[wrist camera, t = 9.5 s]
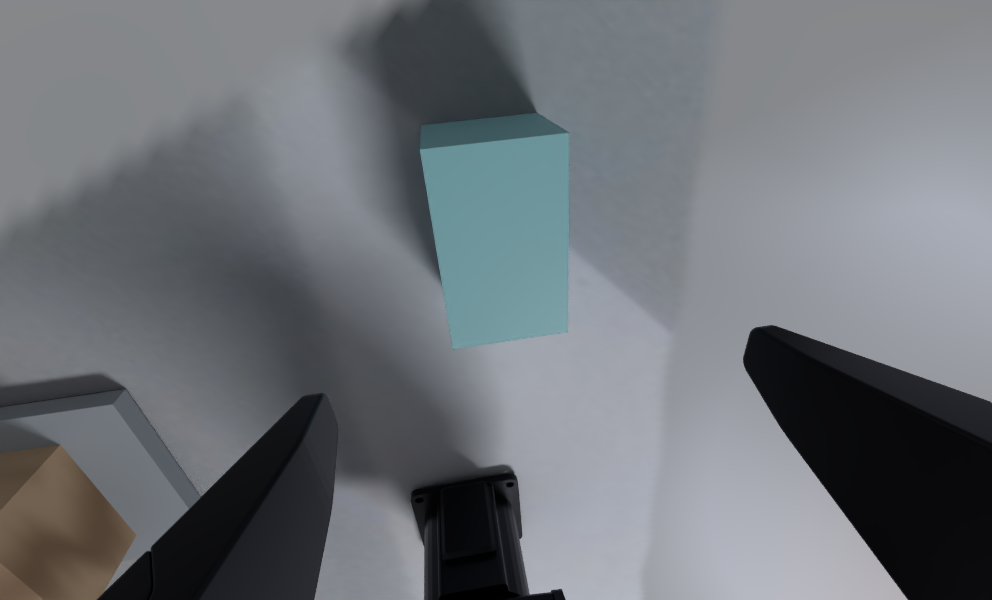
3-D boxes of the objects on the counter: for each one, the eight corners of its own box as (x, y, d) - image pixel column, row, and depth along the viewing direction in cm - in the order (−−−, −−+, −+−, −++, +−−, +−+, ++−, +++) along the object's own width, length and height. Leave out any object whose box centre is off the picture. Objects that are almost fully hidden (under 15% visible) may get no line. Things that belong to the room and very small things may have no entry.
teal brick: (541, 277, 20) (568, 332, 17) (447, 290, 20) (452, 349, 16) (535, 112, 17) (569, 132, 13) (421, 124, 16) (419, 149, 12)
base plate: (221, 527, 26) (214, 544, 25) (23, 561, 25) (8, 580, 24) (125, 389, 20) (112, 404, 19) (-136, 426, 19) (-162, 444, 18)
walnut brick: (137, 535, 24) (80, 630, 20) (49, 549, 23) (-26, 649, 19) (60, 444, 20) (-27, 539, 16) (-45, 459, 20) (-160, 560, 16)
